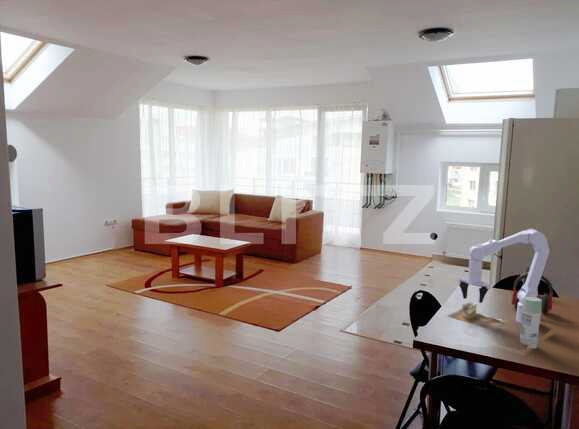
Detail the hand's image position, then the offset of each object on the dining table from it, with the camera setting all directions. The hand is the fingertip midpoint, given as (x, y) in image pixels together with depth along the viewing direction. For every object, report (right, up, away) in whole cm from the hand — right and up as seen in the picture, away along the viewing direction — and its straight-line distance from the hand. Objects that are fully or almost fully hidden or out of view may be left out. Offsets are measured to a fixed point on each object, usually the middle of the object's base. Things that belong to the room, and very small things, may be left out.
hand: (472, 300), depth 211 cm
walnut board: (+1, -10, -1) cm, 10 cm away
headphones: (+35, -9, +15) cm, 39 cm away
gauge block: (-1, -8, +1) cm, 8 cm away
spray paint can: (+11, -14, -27) cm, 32 cm away
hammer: (+41, -6, +34) cm, 54 cm away
